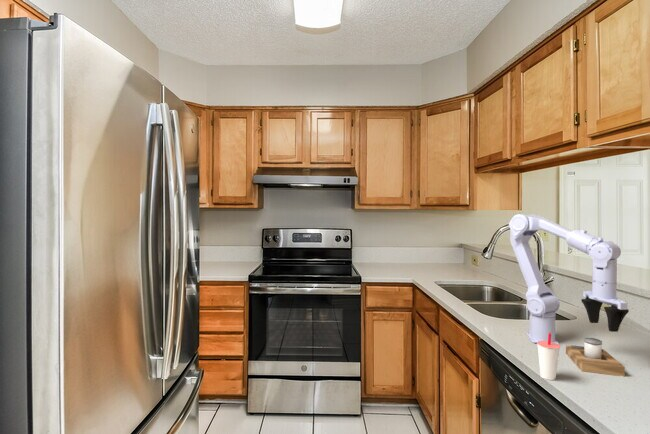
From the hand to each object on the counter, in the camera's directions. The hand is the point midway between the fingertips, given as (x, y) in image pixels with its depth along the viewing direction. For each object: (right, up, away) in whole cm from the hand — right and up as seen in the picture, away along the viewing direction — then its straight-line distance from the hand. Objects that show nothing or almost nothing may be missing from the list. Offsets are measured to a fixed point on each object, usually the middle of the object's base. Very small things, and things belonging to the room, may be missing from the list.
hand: (603, 326), depth 107 cm
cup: (-24, -10, -11) cm, 28 cm away
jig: (-5, -10, -3) cm, 12 cm away
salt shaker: (-5, -10, -3) cm, 12 cm away
